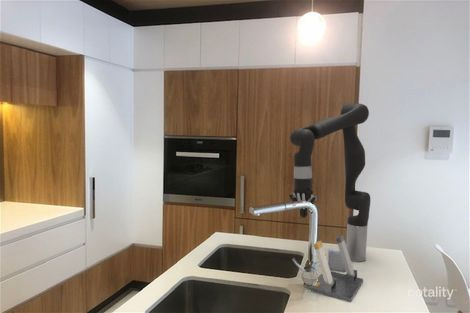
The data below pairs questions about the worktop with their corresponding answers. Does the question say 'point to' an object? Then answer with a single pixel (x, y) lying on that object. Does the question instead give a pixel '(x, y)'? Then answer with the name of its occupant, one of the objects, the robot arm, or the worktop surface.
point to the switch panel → (339, 286)
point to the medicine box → (335, 260)
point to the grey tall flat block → (345, 255)
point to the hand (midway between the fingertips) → (303, 217)
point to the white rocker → (323, 263)
